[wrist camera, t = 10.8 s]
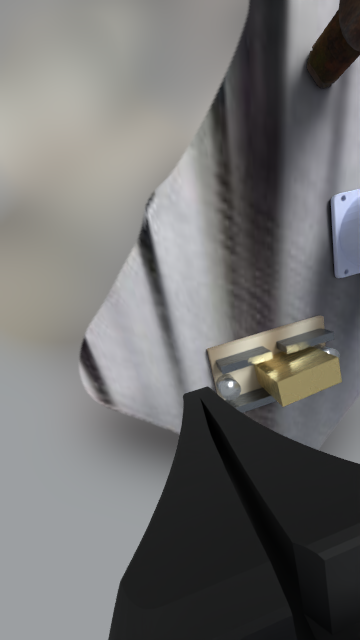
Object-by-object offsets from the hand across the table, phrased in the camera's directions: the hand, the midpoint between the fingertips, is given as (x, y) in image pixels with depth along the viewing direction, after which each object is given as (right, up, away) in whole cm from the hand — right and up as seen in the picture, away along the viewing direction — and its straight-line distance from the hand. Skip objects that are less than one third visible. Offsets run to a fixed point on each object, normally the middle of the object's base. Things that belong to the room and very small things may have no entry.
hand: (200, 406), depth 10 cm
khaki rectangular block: (+10, 0, +11) cm, 15 cm away
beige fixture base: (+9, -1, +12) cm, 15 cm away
